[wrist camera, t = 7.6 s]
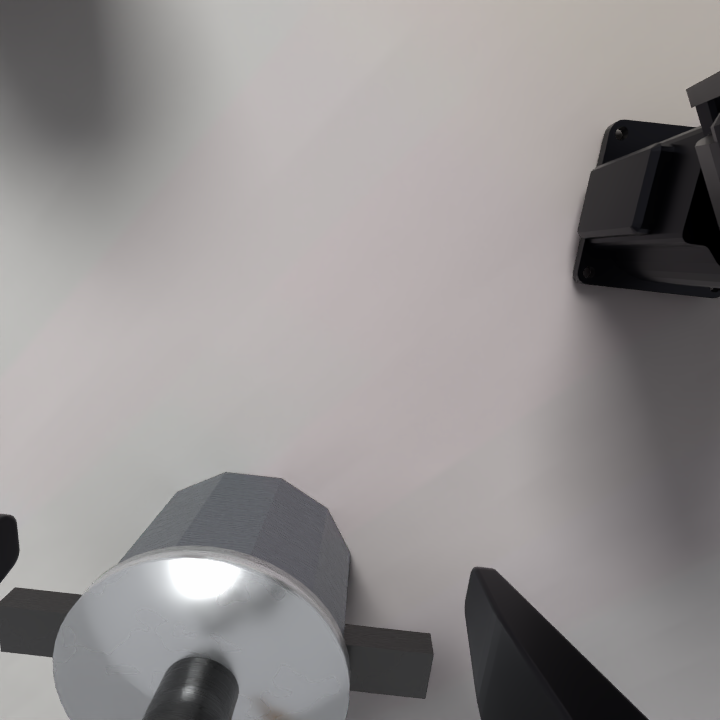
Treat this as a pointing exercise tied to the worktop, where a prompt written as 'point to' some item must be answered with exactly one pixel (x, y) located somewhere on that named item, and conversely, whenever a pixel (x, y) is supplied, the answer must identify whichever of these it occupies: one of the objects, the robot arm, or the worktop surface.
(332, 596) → the pot
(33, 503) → the worktop surface
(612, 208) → the robot arm
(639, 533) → the worktop surface
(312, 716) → the lid
